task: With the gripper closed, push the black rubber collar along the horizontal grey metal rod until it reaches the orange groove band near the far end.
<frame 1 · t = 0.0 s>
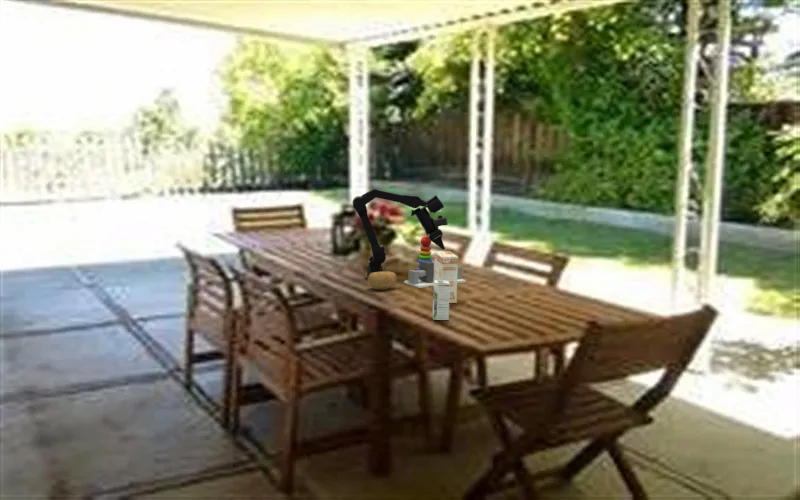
hand: (442, 247, 413), 15 cm above the table, tool tilted 35°, fingers open, 9 cm apart
collar: (426, 271, 403), point 6 cm above the table, slide at 0.0 cm
stacking toy: (424, 275, 424), on the table
coffeecake box: (444, 300, 371), on the table
potato: (382, 289, 390), on the table
syrup box: (440, 319, 338), on the table
pipe rig: (435, 282, 407), on the table
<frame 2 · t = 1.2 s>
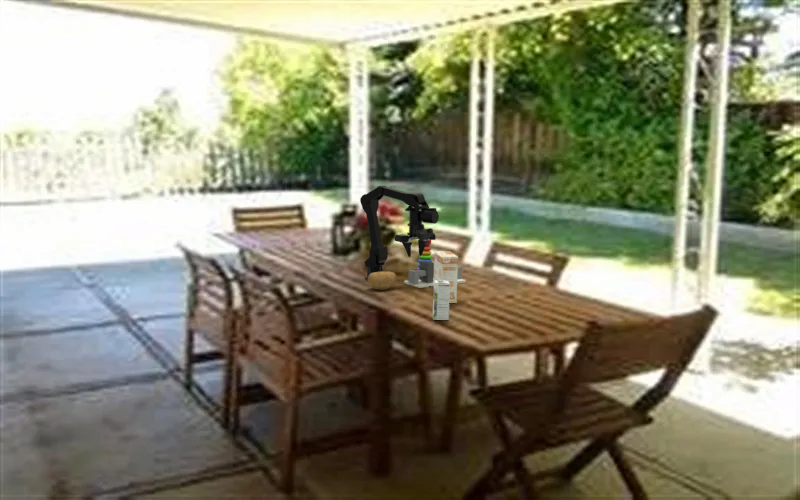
hand: (414, 256, 399), 13 cm above the table, tool pointing down, fingers open, 6 cm apart
nothing on the table moved.
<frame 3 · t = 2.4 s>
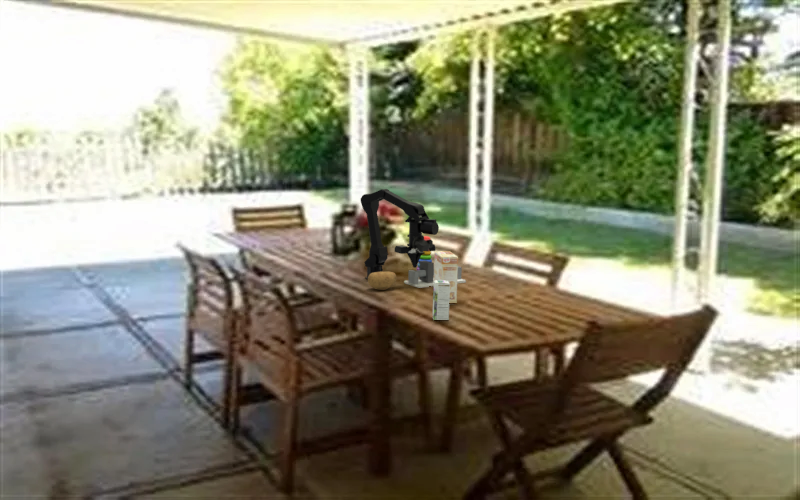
hand: (414, 267, 399), 8 cm above the table, tool pointing down, fingers closed
nothing on the table moved.
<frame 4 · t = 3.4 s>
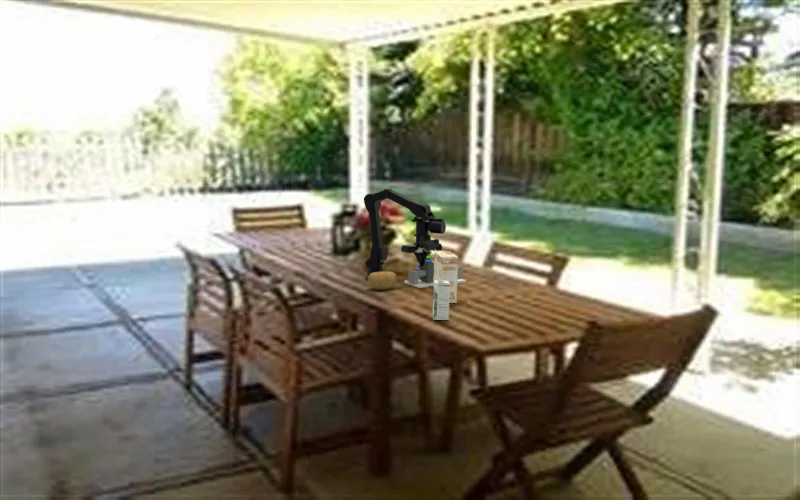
hand: (421, 266, 401), 8 cm above the table, tool pointing down, fingers closed
collar: (426, 271, 403), point 6 cm above the table, slide at 0.0 cm, touching gripper
everything else where it was.
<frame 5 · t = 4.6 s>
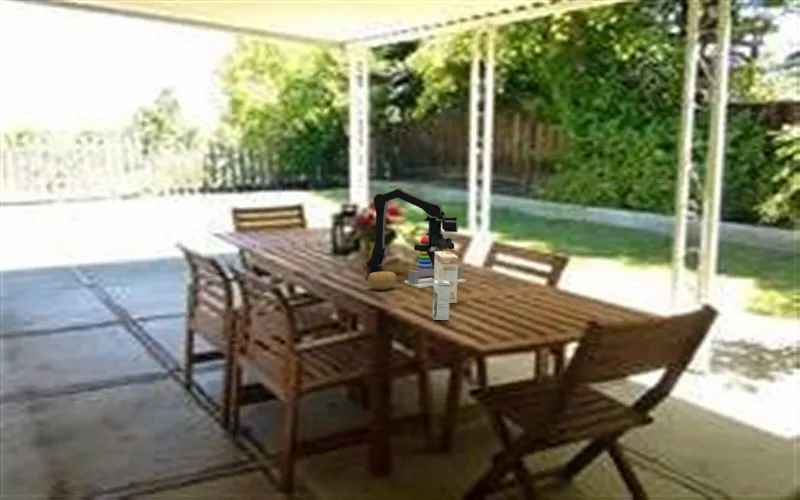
hand: (433, 265, 405), 8 cm above the table, tool pointing down, fingers closed
collar: (438, 269, 407), point 6 cm above the table, slide at 6.8 cm, touching gripper
everything else where it was.
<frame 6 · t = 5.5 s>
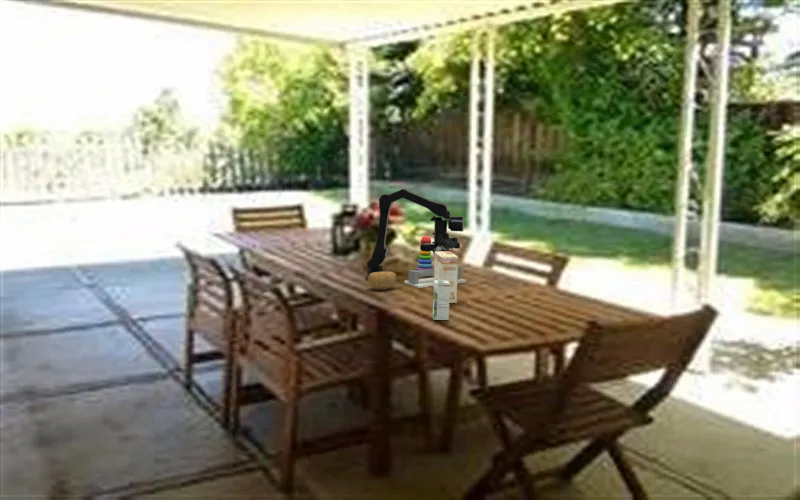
hand: (439, 264, 407), 8 cm above the table, tool pointing down, fingers closed
collar: (444, 269, 409), point 6 cm above the table, slide at 10.1 cm, touching gripper
everything else where it was.
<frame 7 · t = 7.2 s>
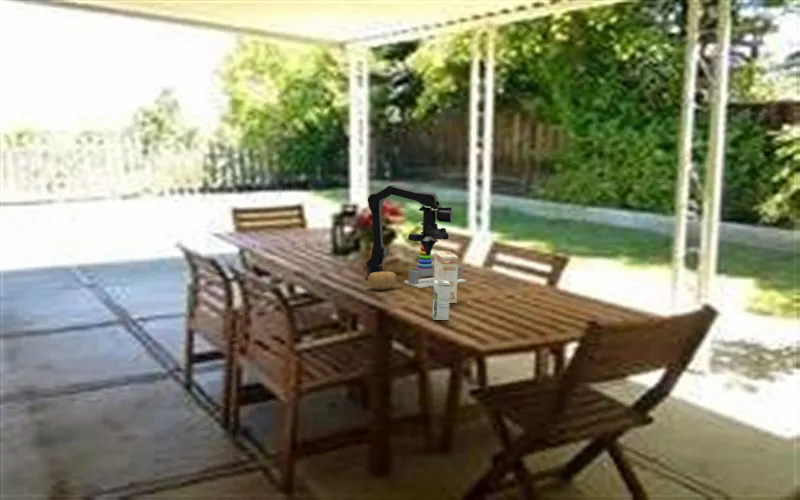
hand: (428, 255, 404), 13 cm above the table, tool pointing down, fingers closed
collar: (444, 269, 409), point 6 cm above the table, slide at 10.3 cm
everything else where it was.
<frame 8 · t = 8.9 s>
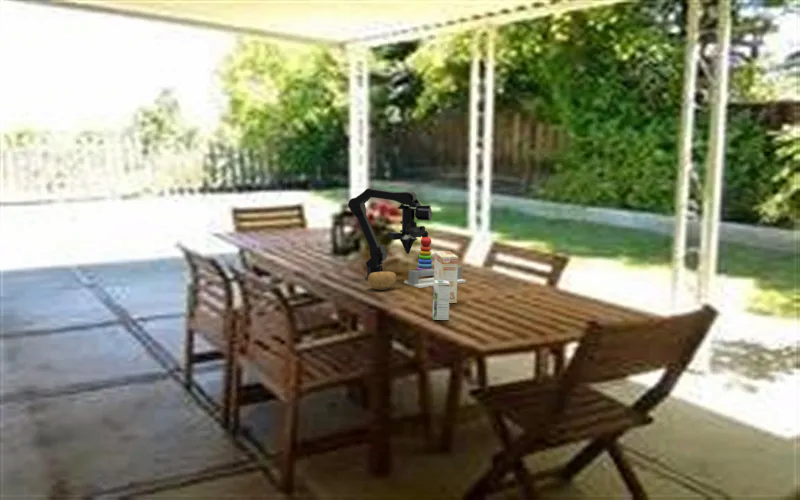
hand: (407, 253, 406), 13 cm above the table, tool pointing down, fingers closed
nothing on the table moved.
at the end: collar slide at 10.3 cm; the gripper is holding nothing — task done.
